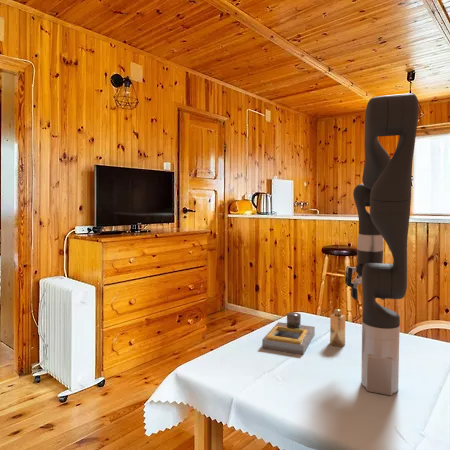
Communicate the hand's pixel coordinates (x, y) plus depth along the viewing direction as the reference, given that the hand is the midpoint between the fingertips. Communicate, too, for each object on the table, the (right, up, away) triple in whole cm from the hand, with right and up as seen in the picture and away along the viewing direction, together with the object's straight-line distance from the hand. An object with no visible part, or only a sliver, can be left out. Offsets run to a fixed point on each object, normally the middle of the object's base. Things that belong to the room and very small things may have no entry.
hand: (368, 299), depth 115 cm
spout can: (-6, -18, +13) cm, 23 cm away
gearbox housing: (-22, -18, +16) cm, 33 cm away
